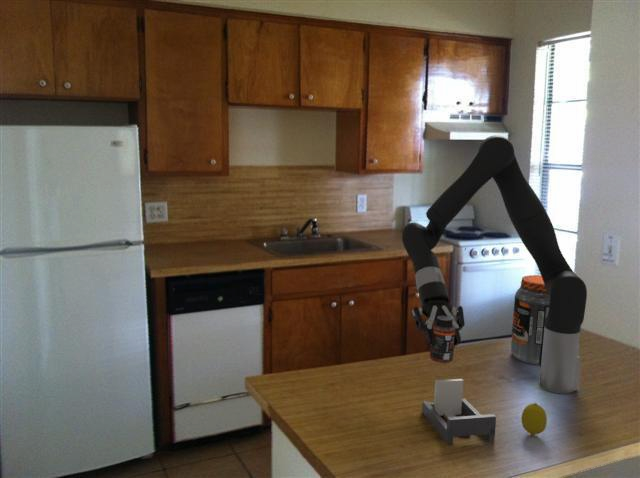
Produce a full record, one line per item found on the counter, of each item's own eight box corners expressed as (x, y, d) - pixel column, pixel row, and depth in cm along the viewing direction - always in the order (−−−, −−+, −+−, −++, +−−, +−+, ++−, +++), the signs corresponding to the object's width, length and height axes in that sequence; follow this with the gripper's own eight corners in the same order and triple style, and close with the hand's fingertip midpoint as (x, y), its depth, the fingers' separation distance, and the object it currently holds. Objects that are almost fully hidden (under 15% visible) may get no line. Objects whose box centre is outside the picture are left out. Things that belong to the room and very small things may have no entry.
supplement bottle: (453, 365, 147) (456, 322, 145) (429, 362, 148) (432, 320, 146) (452, 356, 152) (456, 315, 150) (429, 354, 154) (433, 313, 152)
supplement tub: (506, 347, 195) (512, 272, 190) (554, 350, 193) (562, 275, 188) (515, 364, 179) (521, 283, 175) (568, 368, 177) (576, 286, 173)
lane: (463, 409, 148) (465, 387, 147) (494, 440, 133) (496, 416, 132) (422, 412, 146) (423, 390, 145) (447, 444, 131) (449, 420, 130)
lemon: (544, 432, 137) (547, 400, 136) (545, 443, 132) (548, 410, 131) (520, 427, 139) (523, 396, 138) (520, 438, 134) (523, 406, 133)
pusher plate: (459, 412, 146) (461, 378, 144) (479, 433, 135) (482, 397, 134) (433, 414, 144) (435, 380, 143) (451, 436, 134) (454, 399, 132)
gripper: (410, 280, 152) (423, 339, 143) (461, 280, 155) (477, 337, 146) (402, 294, 159) (414, 351, 149) (451, 293, 161) (466, 349, 152)
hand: (445, 344), depth 148 cm, fingers closed on supplement bottle, 6 cm apart
